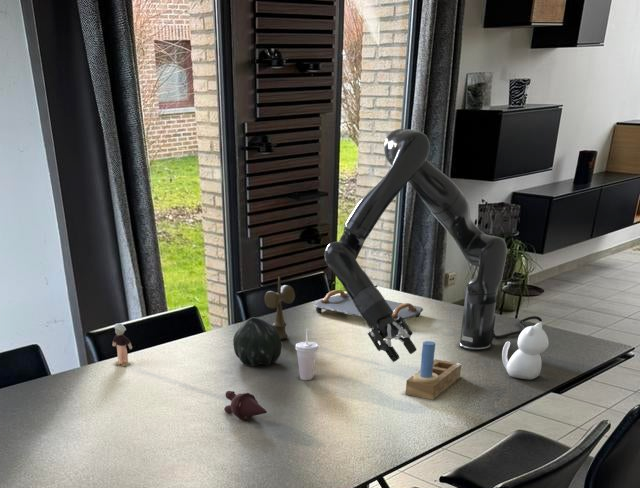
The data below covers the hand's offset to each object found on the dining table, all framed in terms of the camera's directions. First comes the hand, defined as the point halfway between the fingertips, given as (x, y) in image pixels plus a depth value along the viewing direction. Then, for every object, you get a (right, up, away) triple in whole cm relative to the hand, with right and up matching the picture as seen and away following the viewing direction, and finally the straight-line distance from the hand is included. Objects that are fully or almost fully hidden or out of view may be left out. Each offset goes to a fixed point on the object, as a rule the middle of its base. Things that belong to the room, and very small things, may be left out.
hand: (405, 356), depth 197 cm
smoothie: (-26, -4, +13) cm, 29 cm away
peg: (+5, -9, 0) cm, 11 cm away
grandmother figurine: (-81, +3, +27) cm, 85 cm away
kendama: (-32, +15, +45) cm, 58 cm away
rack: (+9, -7, +5) cm, 12 cm away
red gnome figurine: (-43, -19, -12) cm, 48 cm away
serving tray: (0, +29, +68) cm, 74 cm away
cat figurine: (+34, -4, +10) cm, 36 cm away
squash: (-40, +3, +25) cm, 47 cm away
